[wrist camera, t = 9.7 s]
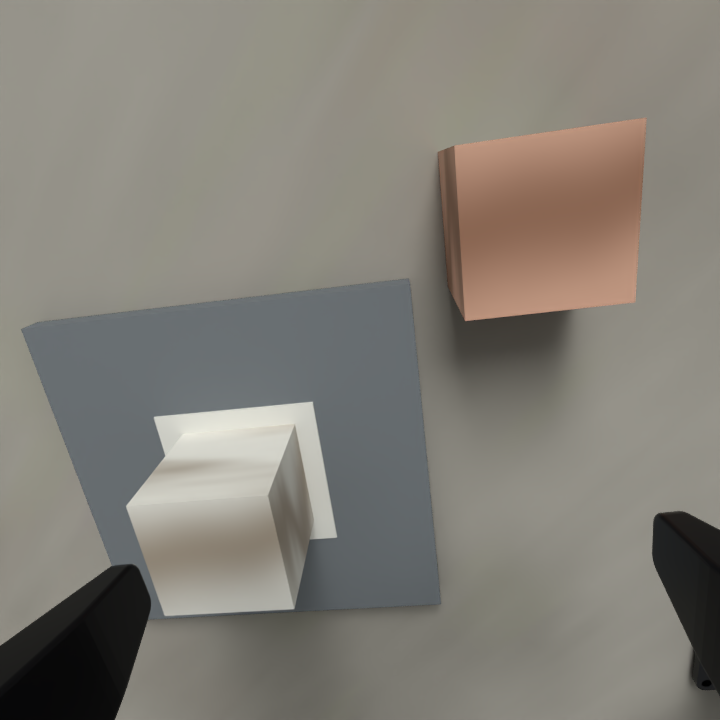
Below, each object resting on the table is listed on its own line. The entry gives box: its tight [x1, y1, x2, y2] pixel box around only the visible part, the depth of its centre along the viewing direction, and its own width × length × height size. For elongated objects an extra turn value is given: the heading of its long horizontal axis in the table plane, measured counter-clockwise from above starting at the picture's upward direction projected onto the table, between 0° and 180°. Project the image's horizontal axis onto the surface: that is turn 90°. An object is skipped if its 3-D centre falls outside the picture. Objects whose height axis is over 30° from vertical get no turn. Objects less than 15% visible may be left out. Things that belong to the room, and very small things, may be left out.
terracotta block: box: [438, 118, 646, 321], centre depth 16 cm, size 5×5×5 cm
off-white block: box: [126, 424, 314, 616], centre depth 20 cm, size 5×5×5 cm
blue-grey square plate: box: [21, 279, 441, 619], centre depth 23 cm, size 16×16×1 cm
